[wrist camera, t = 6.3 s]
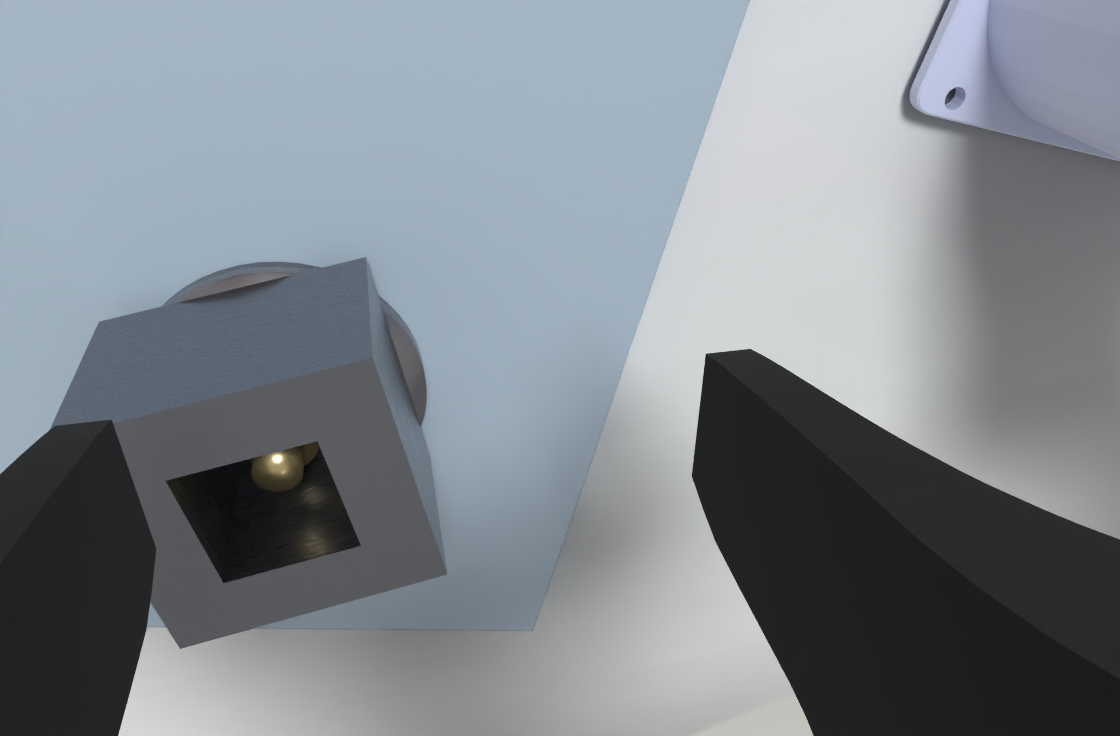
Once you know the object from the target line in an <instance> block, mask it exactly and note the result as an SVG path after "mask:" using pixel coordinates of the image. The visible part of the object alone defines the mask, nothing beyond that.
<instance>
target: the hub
mask: <svg viewBox="0 0 1120 736" xmlns="http://www.w3.org/2000/svg"><path fill="white" fill-rule="evenodd" d="M319 268H321V267H317V266H312V265H306V264H301V263H291V262H257V263H250V264H243V265H237V266H234V267H230V268H226V269H223V270H219V271H216V272H214V273H212V274H209V275H207V276H204V277H202V278H200V279H198V280H196V281H194V282H193V283H191V284H189V285H187V286H186V287H184V288H182V289H181V290H180V291H179V292H177V293H176V294H175V295H173V296H172V297H171V298H169V299H168V300H167V301H166V302H165V303H164V304H163V305H162V306H166V305H170V304H174V303H178V302H182V301H186V300H191V299H195V298H199V297H203V296H207V295H211V294H215V293H219V292H224V291H228V290H232V289H236V288H240V287H244V286H248V285H253V284H257V283H261V282H265V281H269V280H273V279H277V278H281V277H286V276H290V275H294V274H298V273H302V272H306V271H310V270H314V269H319ZM378 296H379V295H378ZM379 299H380V302H381V305H382V308H383V311H384V315H385V318H386V321H387V324H388V327H389V330H390V333H391V336H392V339H393V342H394V345H395V349H396V352H397V355H398V358H399V361H400V364H401V367H402V370H403V373H404V376H405V380H406V383H407V386H408V389H409V392H410V395H411V398H412V401H413V404H414V407H415V410H416V414H417V417H418V420H419V423H420V426H422V422H423V419H424V416H425V410H426V402H427V387H426V379H425V373H424V367H423V362H422V357H421V354H420V351H419V348H418V345H417V342H416V340H415V338H414V337H413V335H412V333H411V331H410V329H409V327H408V326H407V325H406V323H405V322H404V321H403V319H402V318H401V316H400V315H399V314H398V313H397V312H396V311H395V310H394V309H393V308H392V307H391V306H390V305H389V304H388V303H387V302H386V301H385V300H384V299H382V298H381V297H380V296H379ZM162 306H161V307H162ZM318 449H319V444H318V441H317V442H313V443H309V444H305V445H301V446H297V447H293V448H290V449H286V450H282V451H278V452H274V453H270V454H266V455H263V456H259V457H255V458H251V459H247V460H248V461H249V462H250V463H252V470H251V475H252V478H253V480H254V482H255V483H256V484H257V485H258V486H259V487H261V488H262V489H265V490H268V491H272V492H283V491H287V490H290V489H292V488H294V487H295V486H297V485H298V484H299V483H300V481H301V480H302V477H303V470H304V466H305V465H307V464H308V463H309V462H310V461H311V460H312V459H313V458H314V457H315V455H316V454H317V452H318Z"/></svg>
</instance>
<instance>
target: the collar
mask: <svg viewBox="0 0 1120 736" xmlns="http://www.w3.org/2000/svg"><path fill="white" fill-rule="evenodd" d="M103 420H112V422H113V425H114V428H115V431H116V434H117V436H118V439H119V442H120V445H121V448H122V451H123V454H124V457H125V459H126V462H127V465H128V468H129V471H130V474H131V477H132V480H133V483H134V485H135V488H136V491H137V494H138V497H139V500H140V503H141V506H142V509H143V511H144V514H145V517H146V520H147V523H148V526H149V529H150V532H151V534H152V537H153V540H154V543H155V546H156V558H155V567H154V576H153V585H152V594H151V601H150V603H151V604H152V606H153V608H154V609H155V611H156V612H157V614H158V615H159V617H160V618H161V620H162V621H163V623H164V624H165V626H166V627H167V629H168V631H169V632H170V634H171V635H172V637H173V638H174V640H175V641H176V643H177V644H178V646H179V647H180V649H181V648H184V647H188V646H192V645H195V644H199V643H202V642H206V641H210V640H213V639H217V638H220V637H224V636H228V635H231V634H235V633H238V632H242V631H246V630H249V629H253V628H257V627H260V626H264V625H267V624H271V623H275V622H278V621H282V620H285V619H289V618H293V617H296V616H300V615H303V614H307V613H311V612H314V611H318V610H321V609H325V608H329V607H332V606H336V605H339V604H343V603H347V602H350V601H354V600H358V599H361V598H365V597H368V596H372V595H376V594H379V593H383V592H386V591H390V590H394V589H397V588H401V587H404V586H408V585H412V584H415V583H419V582H422V581H426V580H430V579H433V578H437V577H440V576H444V575H447V569H446V562H445V555H444V548H443V541H442V534H441V528H440V521H439V514H438V507H437V500H436V493H435V486H434V479H433V473H432V466H431V459H430V454H429V451H428V448H427V444H426V441H425V438H424V435H423V432H422V429H421V426H420V423H419V420H418V417H417V414H416V410H415V407H414V404H413V401H412V398H411V395H410V392H409V389H408V386H407V383H406V380H405V376H404V373H403V370H402V367H401V364H400V361H399V358H398V355H397V352H396V349H395V345H394V342H393V339H392V336H391V333H390V330H389V327H388V324H387V321H386V318H385V315H384V311H383V308H382V305H381V302H380V299H379V296H378V293H377V290H376V287H375V284H374V281H373V277H372V274H371V271H370V268H369V265H368V262H367V259H366V257H364V258H360V259H356V260H352V261H347V262H343V263H339V264H335V265H331V266H327V267H323V268H319V269H314V270H310V271H306V272H302V273H298V274H294V275H290V276H286V277H281V278H277V279H273V280H269V281H265V282H261V283H257V284H253V285H248V286H244V287H240V288H236V289H232V290H228V291H224V292H219V293H215V294H211V295H207V296H203V297H199V298H195V299H191V300H186V301H182V302H178V303H174V304H170V305H166V306H162V307H157V308H153V309H149V310H145V311H141V312H137V313H133V314H129V315H124V316H120V317H116V318H112V319H108V320H104V321H100V322H99V323H98V325H97V327H96V329H95V331H94V333H93V336H92V338H91V340H90V342H89V344H88V347H87V349H86V351H85V353H84V355H83V358H82V360H81V362H80V364H79V366H78V369H77V371H76V373H75V375H74V377H73V380H72V382H71V384H70V386H69V388H68V390H67V393H66V395H65V397H64V399H63V401H62V404H61V406H60V408H59V410H58V412H57V415H56V417H55V419H54V421H53V423H52V426H51V428H50V429H52V428H53V427H54V426H58V425H67V424H76V423H85V422H94V421H103ZM317 441H318V444H319V449H318V452H317V454H316V455H315V457H314V458H313V459H312V460H311V461H310V462H309V463H308V464H307V465H305V466H304V470H303V477H302V480H301V481H300V483H299V484H298V485H297V486H295V487H294V488H292V489H290V490H287V491H283V492H272V491H268V490H265V489H262V488H261V487H259V486H258V485H257V484H256V483H255V482H254V480H253V478H252V475H251V470H252V463H250V462H249V461H248V460H247V459H251V458H255V457H259V456H263V455H266V454H270V453H274V452H278V451H282V450H286V449H290V448H293V447H297V446H301V445H305V444H309V443H313V442H317Z"/></svg>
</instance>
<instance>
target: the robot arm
mask: <svg viewBox="0 0 1120 736" xmlns="http://www.w3.org/2000/svg"><path fill="white" fill-rule="evenodd" d="M953 88H955V89H956V92H955V96H954V97H953V99H952V100H951V101H950V102H949V103H947V104H946V105H945V103H944V102H945V98H946V95H947V94H948V93H949V91H950V90H952V89H953ZM910 102H911V104H912V106H913V107H914V108H915V109H917V110H919V111H921V112H922V113H924V114H926V115H930V116H934V117H938V118H942V119H946V120H950V121H954V122H959V123H963V124H967V125H971V126H975V127H979V128H983V129H987V130H992V131H996V132H1000V133H1004V134H1008V135H1012V136H1016V137H1020V138H1025V139H1029V140H1033V141H1037V142H1041V143H1045V144H1049V145H1053V146H1057V147H1062V148H1066V149H1070V150H1074V151H1078V152H1082V153H1086V154H1090V155H1095V156H1099V157H1103V158H1107V159H1111V160H1115V161H1119V162H1120V0H950V2H949V4H948V7H947V9H946V11H945V13H944V16H943V18H942V20H941V22H940V24H939V27H938V29H937V31H936V33H935V36H934V38H933V40H932V42H931V44H930V47H929V49H928V51H927V53H926V55H925V58H924V60H923V62H922V64H921V67H920V69H919V71H918V73H917V75H916V78H915V80H914V82H913V84H912V87H911V91H910ZM692 478H693V481H694V484H695V486H696V489H697V492H698V495H699V498H700V501H701V504H702V507H703V510H704V512H705V515H706V518H707V520H708V523H709V526H710V528H711V531H712V534H713V536H714V539H715V541H716V543H717V545H718V547H719V549H720V551H721V553H722V555H723V557H724V559H725V561H726V563H727V565H728V567H729V569H730V571H731V573H732V574H733V576H734V578H735V580H736V582H737V584H738V586H739V588H740V590H741V592H742V594H743V596H744V597H745V599H746V601H747V603H748V605H749V607H750V609H751V611H752V612H753V614H754V616H755V618H756V620H757V622H758V624H759V626H760V628H761V629H762V631H763V633H764V635H765V637H766V639H767V641H768V643H769V644H770V646H771V648H772V650H773V652H774V654H775V656H776V658H777V660H778V661H779V663H780V665H781V667H782V669H783V671H784V673H785V675H786V677H787V678H788V680H789V682H790V684H791V686H792V688H793V690H794V693H795V695H796V697H797V699H798V701H799V703H800V705H801V707H802V709H803V711H804V713H805V716H806V718H807V720H808V723H809V725H810V728H811V730H812V733H813V735H814V736H1120V540H1119V539H1117V538H1114V537H1111V536H1109V535H1106V534H1103V533H1101V532H1098V531H1095V530H1092V529H1090V528H1087V527H1084V526H1082V525H1079V524H1077V523H1074V522H1072V521H1070V520H1067V519H1065V518H1062V517H1060V516H1057V515H1055V514H1052V513H1050V512H1048V511H1045V510H1043V509H1041V508H1039V507H1036V506H1034V505H1032V504H1030V503H1027V502H1025V501H1023V500H1021V499H1019V498H1016V497H1014V496H1012V495H1010V494H1007V493H1005V492H1003V491H1001V490H999V489H996V488H994V487H992V486H990V485H988V484H986V483H984V482H981V481H979V480H977V479H975V478H973V477H971V476H969V475H967V474H965V473H963V472H961V471H959V470H957V469H955V468H954V467H952V466H950V465H948V464H946V463H944V462H942V461H941V460H939V459H937V458H935V457H933V456H931V455H929V454H927V453H926V452H924V451H922V450H920V449H918V448H916V447H914V446H912V445H911V444H909V443H907V442H905V441H904V440H902V439H900V438H898V437H897V436H895V435H893V434H891V433H890V432H888V431H886V430H884V429H883V428H881V427H879V426H878V425H876V424H874V423H873V422H871V421H869V420H868V419H866V418H864V417H863V416H861V415H859V414H858V413H856V412H854V411H853V410H851V409H849V408H848V407H846V406H845V405H843V404H841V403H840V402H838V401H836V400H835V399H833V398H832V397H830V396H828V395H827V394H825V393H824V392H822V391H820V390H819V389H817V388H816V387H814V386H812V385H811V384H809V383H807V382H806V381H804V380H803V379H801V378H799V377H798V376H796V375H795V374H793V373H791V372H790V371H788V370H786V369H785V368H783V367H782V366H780V365H778V364H777V363H775V362H773V361H772V360H770V359H768V358H766V357H765V356H763V355H761V354H759V353H757V352H755V351H753V350H751V349H746V350H737V351H728V352H719V353H710V354H706V358H705V367H704V375H703V384H702V393H701V401H700V410H699V419H698V427H697V436H696V445H695V453H694V462H693V471H692ZM155 558H156V546H155V543H154V540H153V537H152V534H151V532H150V529H149V526H148V523H147V520H146V517H145V514H144V511H143V509H142V506H141V503H140V500H139V497H138V494H137V491H136V488H135V485H134V483H133V480H132V477H131V474H130V471H129V468H128V465H127V462H126V459H125V457H124V454H123V451H122V448H121V445H120V442H119V439H118V436H117V434H116V431H115V428H114V425H113V422H112V420H103V421H94V422H85V423H76V424H67V425H58V426H54V427H53V428H52V429H50V430H49V431H48V432H47V433H45V434H44V435H43V436H42V437H41V438H39V439H38V440H37V441H36V442H35V443H34V444H33V445H31V446H30V447H29V448H28V449H27V450H26V451H25V452H24V453H22V454H21V455H20V456H19V457H18V458H17V459H16V460H15V461H14V462H13V463H12V464H10V465H9V466H8V467H7V468H6V469H5V470H4V471H3V472H2V473H1V474H0V736H118V734H119V730H120V726H121V723H122V719H123V715H124V712H125V708H126V704H127V701H128V697H129V693H130V690H131V686H132V682H133V678H134V675H135V671H136V667H137V663H138V660H139V656H140V652H141V648H142V644H143V640H144V636H145V632H146V628H147V623H148V616H149V608H150V601H151V594H152V585H153V576H154V567H155Z"/></svg>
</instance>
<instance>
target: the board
mask: <svg viewBox="0 0 1120 736" xmlns="http://www.w3.org/2000/svg"><path fill="white" fill-rule="evenodd" d="M749 1H750V0H0V474H1V473H2V472H3V471H4V470H5V469H6V468H7V467H8V466H9V465H10V464H12V463H13V462H14V461H15V460H16V459H17V458H18V457H19V456H20V455H21V454H22V453H24V452H25V451H26V450H27V449H28V448H29V447H30V446H31V445H33V444H34V443H35V442H36V441H37V440H38V439H39V438H41V437H42V436H43V435H44V434H45V433H47V432H48V431H49V430H50V428H51V426H52V423H53V421H54V419H55V417H56V415H57V412H58V410H59V408H60V406H61V404H62V401H63V399H64V397H65V395H66V393H67V390H68V388H69V386H70V384H71V382H72V380H73V377H74V375H75V373H76V371H77V369H78V366H79V364H80V362H81V360H82V358H83V355H84V353H85V351H86V349H87V347H88V344H89V342H90V340H91V338H92V336H93V333H94V331H95V329H96V327H97V325H98V323H99V322H100V321H104V320H108V319H112V318H116V317H120V316H124V315H129V314H133V313H137V312H141V311H145V310H149V309H153V308H157V307H161V306H162V305H163V304H164V303H165V302H166V301H167V300H168V299H169V298H171V297H172V296H173V295H175V294H176V293H177V292H179V291H180V290H181V289H182V288H184V287H186V286H187V285H189V284H191V283H193V282H194V281H196V280H198V279H200V278H202V277H204V276H207V275H209V274H212V273H214V272H216V271H219V270H223V269H226V268H230V267H234V266H237V265H243V264H250V263H257V262H291V263H301V264H306V265H312V266H317V267H321V268H323V267H327V266H331V265H335V264H339V263H343V262H347V261H352V260H356V259H360V258H364V257H366V259H367V262H368V265H369V268H370V271H371V274H372V277H373V281H374V284H375V287H376V290H377V293H378V295H379V296H380V297H381V298H382V299H384V300H385V301H386V302H387V303H388V304H389V305H390V306H391V307H392V308H393V309H394V310H395V311H396V312H397V313H398V314H399V315H400V316H401V318H402V319H403V321H404V322H405V323H406V325H407V326H408V327H409V329H410V331H411V333H412V335H413V337H414V338H415V340H416V342H417V345H418V348H419V351H420V354H421V357H422V362H423V367H424V373H425V379H426V387H427V402H426V410H425V416H424V419H423V422H422V426H421V429H422V432H423V435H424V438H425V441H426V444H427V448H428V451H429V454H430V459H431V466H432V473H433V479H434V486H435V493H436V500H437V507H438V514H439V521H440V528H441V534H442V541H443V548H444V555H445V562H446V569H447V575H444V576H440V577H437V578H433V579H430V580H426V581H422V582H419V583H415V584H412V585H408V586H404V587H401V588H397V589H394V590H390V591H386V592H383V593H379V594H376V595H372V596H368V597H365V598H361V599H358V600H354V601H350V602H347V603H343V604H339V605H336V606H332V607H329V608H325V609H321V610H318V611H314V612H311V613H307V614H303V615H300V616H296V617H293V618H289V619H285V620H282V621H278V622H275V623H271V624H267V625H264V626H260V627H257V628H279V629H381V630H484V631H533V629H534V626H535V623H536V620H537V618H538V615H539V612H540V609H541V606H542V603H543V600H544V597H545V594H546V591H547V588H548V586H549V583H550V580H551V577H552V574H553V571H554V568H555V565H556V562H557V559H558V557H559V554H560V551H561V548H562V545H563V542H564V539H565V536H566V533H567V530H568V527H569V525H570V522H571V519H572V516H573V513H574V510H575V507H576V504H577V501H578V498H579V495H580V493H581V490H582V487H583V484H584V481H585V478H586V475H587V472H588V469H589V466H590V464H591V461H592V458H593V455H594V452H595V449H596V446H597V443H598V440H599V437H600V434H601V432H602V429H603V426H604V423H605V420H606V417H607V414H608V411H609V408H610V405H611V403H612V400H613V397H614V394H615V391H616V388H617V385H618V382H619V379H620V376H621V373H622V371H623V368H624V365H625V362H626V359H627V356H628V353H629V350H630V347H631V344H632V341H633V339H634V336H635V333H636V330H637V327H638V324H639V321H640V318H641V315H642V312H643V310H644V307H645V304H646V301H647V298H648V295H649V292H650V289H651V286H652V283H653V280H654V278H655V275H656V272H657V269H658V266H659V263H660V260H661V257H662V254H663V251H664V248H665V246H666V243H667V240H668V237H669V234H670V231H671V228H672V225H673V222H674V219H675V217H676V214H677V211H678V208H679V205H680V202H681V199H682V196H683V193H684V190H685V187H686V185H687V182H688V179H689V176H690V173H691V170H692V167H693V164H694V161H695V158H696V156H697V153H698V150H699V147H700V144H701V141H702V138H703V135H704V132H705V129H706V126H707V124H708V121H709V118H710V115H711V112H712V109H713V106H714V103H715V100H716V97H717V94H718V92H719V89H720V86H721V83H722V80H723V77H724V74H725V71H726V68H727V65H728V63H729V60H730V57H731V54H732V51H733V48H734V45H735V42H736V39H737V36H738V33H739V31H740V28H741V25H742V22H743V19H744V16H745V13H746V10H747V7H748V4H749ZM147 627H166V626H165V624H164V623H163V621H162V620H161V618H160V617H159V615H158V614H157V612H156V611H155V609H154V608H153V606H152V604H151V603H150V608H149V616H148V623H147Z"/></svg>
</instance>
